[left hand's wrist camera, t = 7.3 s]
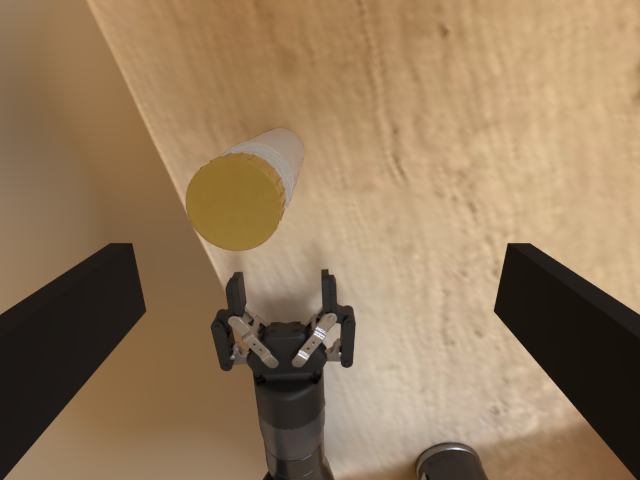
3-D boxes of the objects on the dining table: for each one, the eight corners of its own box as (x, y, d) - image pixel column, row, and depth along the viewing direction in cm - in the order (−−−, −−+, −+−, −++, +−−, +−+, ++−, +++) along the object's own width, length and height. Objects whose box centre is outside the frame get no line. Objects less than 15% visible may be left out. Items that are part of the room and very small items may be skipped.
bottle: (278, 117, 34) (224, 128, 15) (313, 150, 35) (308, 201, 16) (248, 153, 35) (163, 208, 16) (283, 184, 37) (244, 270, 17)
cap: (234, 132, 17) (223, 135, 14) (303, 192, 18) (302, 203, 16) (182, 198, 18) (165, 210, 16) (250, 251, 19) (242, 269, 17)
